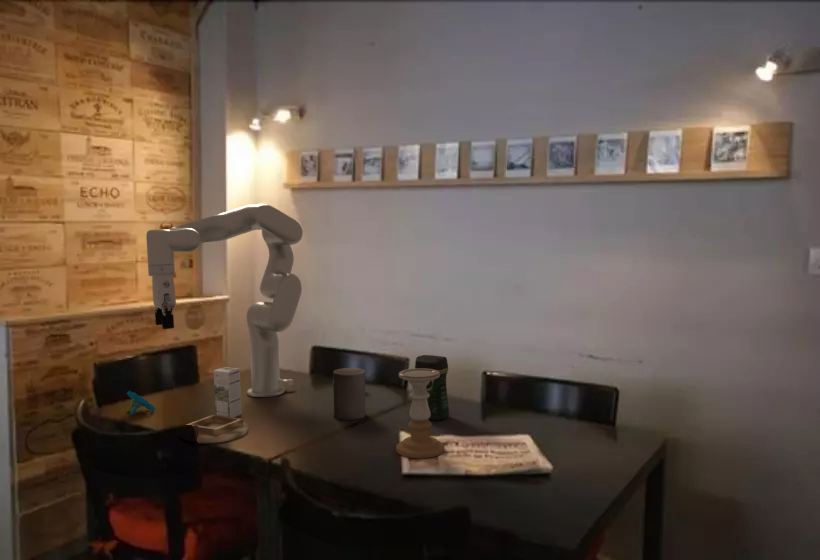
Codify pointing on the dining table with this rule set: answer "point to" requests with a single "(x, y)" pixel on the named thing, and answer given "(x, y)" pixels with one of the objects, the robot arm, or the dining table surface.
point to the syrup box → (227, 392)
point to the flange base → (219, 429)
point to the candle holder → (419, 417)
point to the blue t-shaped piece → (138, 403)
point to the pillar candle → (349, 393)
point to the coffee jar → (436, 385)
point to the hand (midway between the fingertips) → (164, 326)
